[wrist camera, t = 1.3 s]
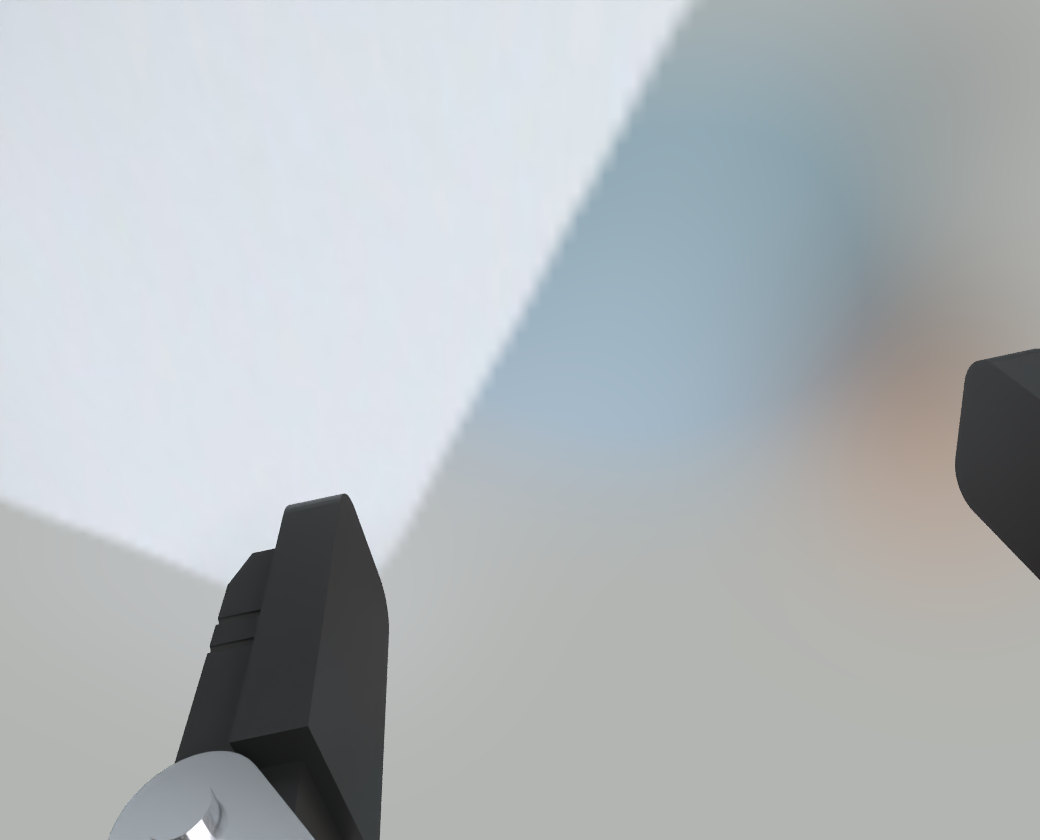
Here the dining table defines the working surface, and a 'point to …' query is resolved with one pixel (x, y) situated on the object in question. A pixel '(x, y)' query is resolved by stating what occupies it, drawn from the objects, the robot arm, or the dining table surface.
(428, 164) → the dining table surface
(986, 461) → the robot arm
